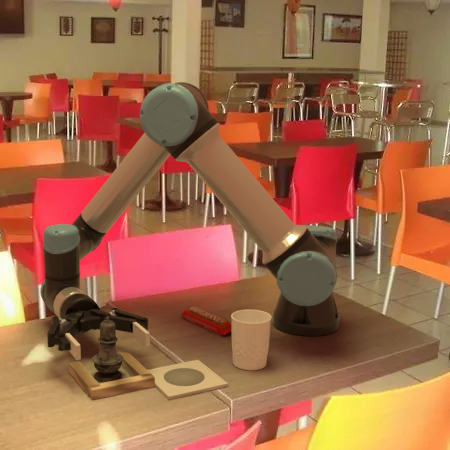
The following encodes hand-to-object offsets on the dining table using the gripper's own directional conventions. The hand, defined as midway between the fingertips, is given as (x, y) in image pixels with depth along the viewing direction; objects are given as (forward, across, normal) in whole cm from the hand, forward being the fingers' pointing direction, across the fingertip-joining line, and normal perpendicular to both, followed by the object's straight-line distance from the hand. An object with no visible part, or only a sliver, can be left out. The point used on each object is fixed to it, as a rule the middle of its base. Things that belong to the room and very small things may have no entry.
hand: (114, 346), depth 131 cm
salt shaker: (-3, 0, -7) cm, 8 cm away
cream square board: (+5, -12, -7) cm, 15 cm away
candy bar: (-19, -29, -8) cm, 35 cm away
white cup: (+4, -27, -7) cm, 28 cm away
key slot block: (-2, 0, -7) cm, 8 cm away
